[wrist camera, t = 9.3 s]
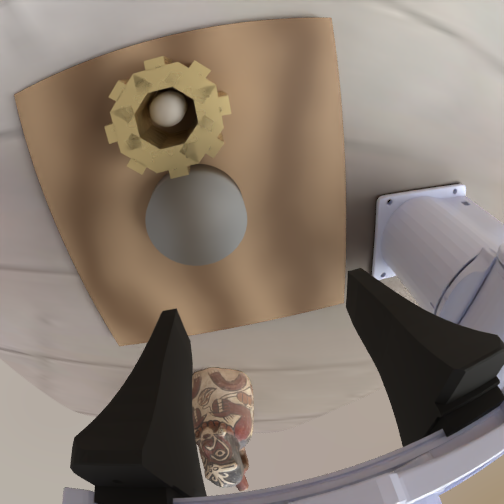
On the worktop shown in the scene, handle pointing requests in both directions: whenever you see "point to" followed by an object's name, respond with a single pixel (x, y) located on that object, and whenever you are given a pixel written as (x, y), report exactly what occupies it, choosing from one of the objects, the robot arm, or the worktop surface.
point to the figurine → (223, 424)
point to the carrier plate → (252, 151)
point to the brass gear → (155, 139)
